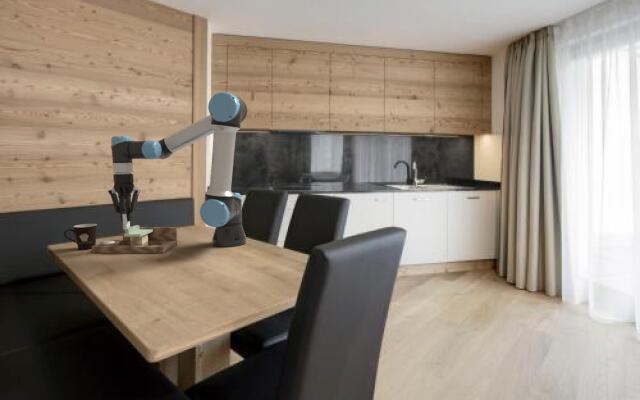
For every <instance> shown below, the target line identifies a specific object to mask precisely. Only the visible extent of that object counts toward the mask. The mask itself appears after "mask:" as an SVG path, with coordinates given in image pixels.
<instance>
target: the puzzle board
mask: <svg viewBox="0 0 640 400" xmlns="http://www.w3.org/2000/svg"><path fill="white" fill-rule="evenodd" d="M139 228H140V229H153V232H151V233H148V245H131V240H130V237H124V234H125V229H123V226H122V228H121V229H122V230H121V231H122V232H121V234H122V239H109V240H104V241H101V242H99V243H98V244H96V245H95V246H92V249H91V253H94V254H98V253H99V254H104V253H105V254H165V253H167V252H169V251H170V250H172V249H174V248H176V247H178V229H177V228H178V227H177V226H155V227H154V226H139Z"/></svg>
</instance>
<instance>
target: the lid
mask: <svg viewBox="0 0 640 400" xmlns="http://www.w3.org/2000/svg"><path fill="white" fill-rule="evenodd" d="M139 227H140V225H139V224H136V225H135V224H134V225H133V226H130V227H129V228H126V229H125V234H124V237H141V236H144V235H146V234H148V233H151V232H153V229H140V228H139Z"/></svg>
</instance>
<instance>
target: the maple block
mask: <svg viewBox="0 0 640 400" xmlns="http://www.w3.org/2000/svg"><path fill="white" fill-rule="evenodd" d="M130 240H131V245H148V234H146V235H144V236H141V237H130Z"/></svg>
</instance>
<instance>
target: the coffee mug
mask: <svg viewBox="0 0 640 400" xmlns="http://www.w3.org/2000/svg"><path fill="white" fill-rule="evenodd" d="M97 227H98V224H97V223H83V224H82V223H81V224H76V225H74V226H73V229H70V228H68V229H66V230H64V232H63V235H64V237H65V239H67V240H69V241H71V242H73V243H75V244H77V249H78V250H79V251H88V250H92V246H95V245H97V232H98V231H97ZM69 231H71V232H73V234H74V235H75V240H74V239H72V238H70V237H68V236H67V235H66V234H67V232H69Z"/></svg>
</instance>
